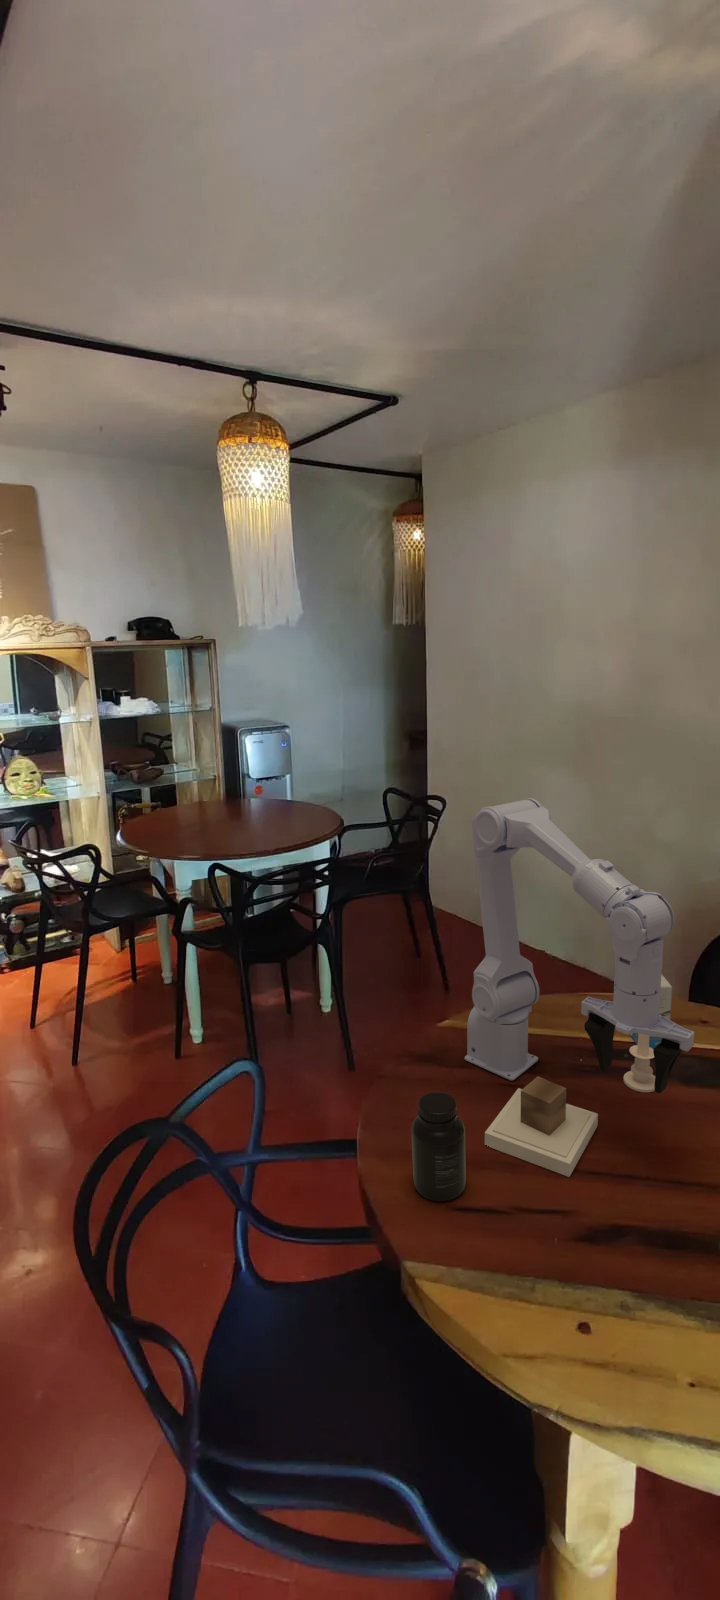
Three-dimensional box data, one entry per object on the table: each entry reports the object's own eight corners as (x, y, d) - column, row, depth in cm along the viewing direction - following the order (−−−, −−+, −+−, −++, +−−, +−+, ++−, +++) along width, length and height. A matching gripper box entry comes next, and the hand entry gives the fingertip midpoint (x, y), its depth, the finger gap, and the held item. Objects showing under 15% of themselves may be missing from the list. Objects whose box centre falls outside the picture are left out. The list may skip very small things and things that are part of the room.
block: (520, 1122, 107) (520, 1090, 106) (537, 1106, 110) (537, 1076, 109) (549, 1135, 104) (549, 1103, 103) (565, 1119, 107) (566, 1088, 106)
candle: (653, 1073, 121) (657, 1013, 118) (663, 1093, 116) (667, 1031, 113) (619, 1072, 121) (622, 1013, 119) (627, 1092, 116) (630, 1030, 114)
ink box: (669, 1050, 127) (673, 986, 124) (639, 1051, 127) (643, 986, 124) (651, 1024, 135) (654, 963, 132) (623, 1025, 135) (626, 963, 132)
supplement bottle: (470, 1171, 101) (470, 1091, 98) (459, 1208, 95) (459, 1124, 92) (420, 1161, 103) (418, 1083, 100) (406, 1197, 97) (404, 1114, 94)
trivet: (484, 1145, 106) (484, 1131, 105) (518, 1099, 115) (518, 1086, 115) (569, 1177, 99) (569, 1162, 99) (597, 1126, 109) (598, 1112, 108)
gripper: (571, 979, 101) (568, 1070, 104) (681, 1015, 91) (674, 1114, 95) (596, 962, 106) (593, 1049, 109) (703, 993, 96) (696, 1088, 99)
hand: (632, 1078), depth 102 cm, fingers open, 7 cm apart
